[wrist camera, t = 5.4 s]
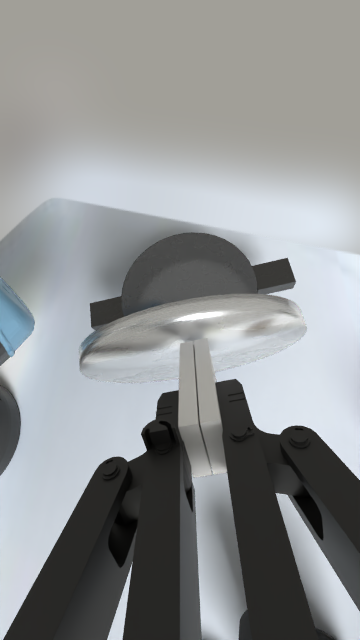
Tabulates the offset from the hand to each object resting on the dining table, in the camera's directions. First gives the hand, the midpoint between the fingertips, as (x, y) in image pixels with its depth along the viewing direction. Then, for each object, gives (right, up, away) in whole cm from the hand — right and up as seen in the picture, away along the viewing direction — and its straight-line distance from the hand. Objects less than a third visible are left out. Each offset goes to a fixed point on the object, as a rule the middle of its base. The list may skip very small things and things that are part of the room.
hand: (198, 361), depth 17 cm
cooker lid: (0, +1, +6) cm, 6 cm away
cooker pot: (+1, +2, +25) cm, 25 cm away
